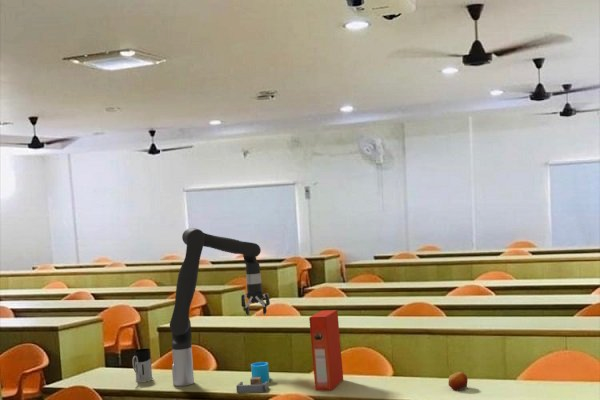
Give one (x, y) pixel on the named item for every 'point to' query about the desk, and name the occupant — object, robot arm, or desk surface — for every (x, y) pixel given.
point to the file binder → (326, 349)
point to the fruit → (458, 381)
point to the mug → (260, 371)
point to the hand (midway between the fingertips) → (256, 314)
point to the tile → (255, 381)
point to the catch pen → (252, 387)
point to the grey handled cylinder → (142, 365)
